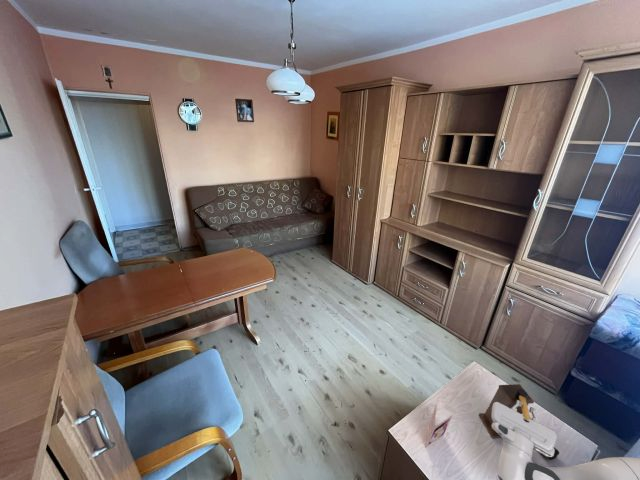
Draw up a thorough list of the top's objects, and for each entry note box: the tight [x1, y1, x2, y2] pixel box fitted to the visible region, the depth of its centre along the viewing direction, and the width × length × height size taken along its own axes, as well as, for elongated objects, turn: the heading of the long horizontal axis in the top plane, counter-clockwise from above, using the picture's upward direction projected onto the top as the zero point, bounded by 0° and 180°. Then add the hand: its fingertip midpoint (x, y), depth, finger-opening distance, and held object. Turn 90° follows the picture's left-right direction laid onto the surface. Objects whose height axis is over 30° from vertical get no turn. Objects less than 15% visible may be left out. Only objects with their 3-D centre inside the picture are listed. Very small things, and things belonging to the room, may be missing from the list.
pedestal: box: [478, 383, 535, 439], centre depth 119 cm, size 10×12×24 cm
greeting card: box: [424, 403, 453, 448], centre depth 115 cm, size 11×7×15 cm, turn 117°
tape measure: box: [541, 446, 560, 461], centre depth 114 cm, size 7×7×4 cm
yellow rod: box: [516, 388, 531, 422], centre depth 107 cm, size 13×3×4 cm, turn 154°
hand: (526, 404), depth 106 cm, fingers closed on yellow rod, 3 cm apart
